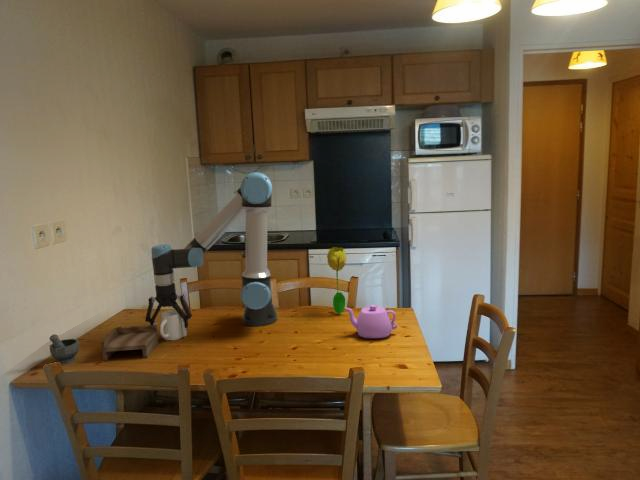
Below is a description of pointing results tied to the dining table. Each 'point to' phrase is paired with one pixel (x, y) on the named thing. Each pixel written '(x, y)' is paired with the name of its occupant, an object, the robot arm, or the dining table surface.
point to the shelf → (130, 340)
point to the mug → (171, 325)
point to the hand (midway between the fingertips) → (170, 336)
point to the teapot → (373, 322)
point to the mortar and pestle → (63, 349)
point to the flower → (337, 263)
